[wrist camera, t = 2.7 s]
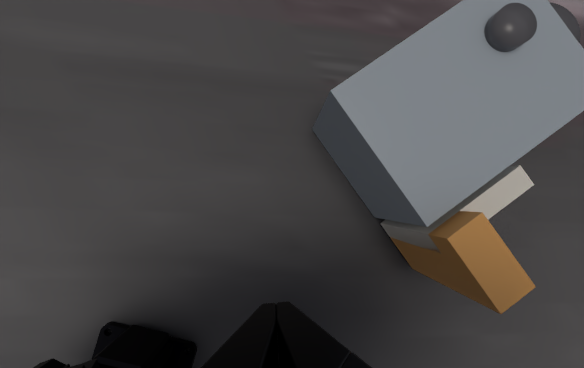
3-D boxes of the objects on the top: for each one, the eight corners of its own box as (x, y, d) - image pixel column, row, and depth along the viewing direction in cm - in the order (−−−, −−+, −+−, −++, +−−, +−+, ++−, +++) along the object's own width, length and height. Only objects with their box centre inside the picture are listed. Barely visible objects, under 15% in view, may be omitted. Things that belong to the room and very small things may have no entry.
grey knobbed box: (375, 219, 21) (438, 231, 13) (311, 129, 21) (333, 83, 13) (523, 111, 22) (670, 57, 14) (461, 26, 22) (570, -77, 14)
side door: (412, 268, 21) (501, 314, 12) (380, 223, 21) (447, 238, 12) (476, 220, 21) (602, 233, 13) (444, 176, 21) (550, 161, 13)
